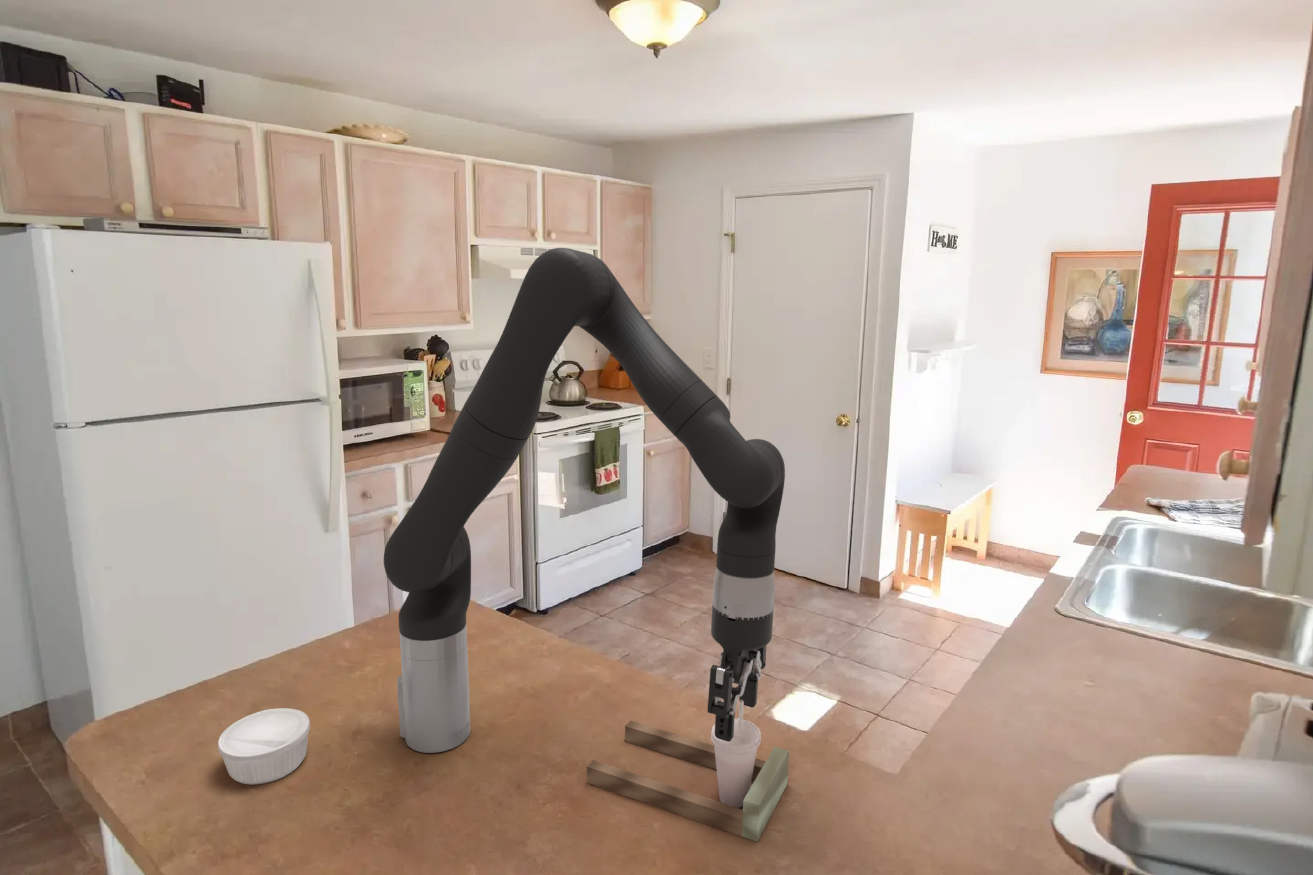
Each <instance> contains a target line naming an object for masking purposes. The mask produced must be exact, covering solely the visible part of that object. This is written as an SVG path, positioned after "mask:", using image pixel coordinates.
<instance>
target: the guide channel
mask: <svg viewBox="0 0 1313 875" xmlns="http://www.w3.org/2000/svg"><path fill="white" fill-rule="evenodd" d="M624 741H625V742H627V743H629V744H630V743H631V744H634V745H637V746H641V747H643V748H645V749H646V748H647V749H650V750H653V751H656V752H659V753H663V754H664V755H669V756H672V757H676V758H678V759H682V760H685V761H687V762H688V761H689V762H691V763H694V764H698V765H701V766H702V767H703V766H704V767H707V768H709V769H713V768H714V769H713V770H716V769H717V768H716V759H715V750H714V744H709V743H708V742H703V741H699V740H697V739H692V738H690V737H686V736H682V735H680V734H676V733H674V732H669V731H667V730H663V729H660V728H656V727H653V726H650V725H646V724H643V723H639V722H638V721H637V722H636V721H633V720H629V721H628V723H626V724H625V725H624ZM789 758H790V750H789V749H785V748H782V747H778V746H774V747H773V748H772V750H771V751H770V754H769V755H768V757H767V759H766V760H763V759H760V758H757V757H756V758H755V763H754V769H753V775H752V780H751V782H753V783H751V786H750V790H749V791H748V793H747V795H746V797H745V798H744V800H743V806H742V809H741V808H740V807H739V808H736V807H733V806H730V805H727V804H724V803H722V802H721V801H717V800H714V799H712V798H708V797H705V796H702V795H700V794H696V793H693V792H691V791H687V790H686V789H685V790H684V789H681V788H678V787H676V786H673V785H669V784H667V783H663V782H661V781H657V780H654V779H652V778H649V777H645V776H642V775H640V774H636V773H634V772H631V771H627V770H625V769H621V768H619V767H615V766H612V765H609V764H607V763H603V762H601V761H599V760H595V759H593V760H591V762H590V763H588V764H587V765H586V783H588V784H591V785H594V786H596V787H598V788H602V789H605V790H607V791H610V792H612V793H616V794H618V795H622V796H625V797H628V798H631V799H633V800H637V801H639V802H642V803H644V804H648V805H650V806H654V807H656V808H659V809H662V810H665V811H668V812H671V813H673V814H676V815H679V816H682V817H683V818H684V817H685V818H687V819H690V820H693V821H697V822H699V823H702V824H704V825H708V826H709V827H713V828H715V829H719V830H722V831H725V832H727V833H730V834H733V835H736V836H738V837H742V838H745V839H747V840H750V841H754V842H755V843H758V842H759V840H760V838H761V836H762V835H763V832H764V830H765V828H766V826H767V825H768V822H769V820H770V819H771V817H772V815H773V813H774V811H775V809H776V806H777V804H778V803H779V801H780V799H781V797H782V795H783V793H784V791H785V789H786V787H787V785H788V778H789V777H788V776H789V762H790V761H789Z"/></svg>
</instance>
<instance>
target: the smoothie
mask: <svg viewBox="0 0 1313 875" xmlns="http://www.w3.org/2000/svg"><path fill="white" fill-rule="evenodd" d="M738 700H739V699H738ZM738 702H739V703H738V718H737V717H735V719H734V736H733V738H732V740H731V741H730V742H728V741H725V740H721V739H718V738H716V736H715V723H714V724H713V725H712V727H711V734H710V739H711V741H712V743H713V745H714V750H715V759H716V768H717V770H716V777H717V784H718V785H717V786H718V795H719V797H718V798H719V800H720V801H719V802H721V803H724V804H727V805H730V806H733V807H736V808H739V809H740V808H743V800H744V798H745V797H746V795H747V793H748V791H749V790H750V788H751V786H752V781H751V780H752V775H753V769H754V763H755V758H757V752H758V747H759V746H760V745H761V742H762V738H761V736H762V734H761V730H760V729H759V727H758V726H757V725H756V724H755V723H753V722H752V721H749V720H747V719H744V706H745V705H744V701H743V700H739V701H738Z"/></svg>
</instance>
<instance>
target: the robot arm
mask: <svg viewBox="0 0 1313 875" xmlns="http://www.w3.org/2000/svg"><path fill="white" fill-rule="evenodd" d="M574 327H580V328H581V329H582V330H583V331H585V332H586V333H587V334H589V335H590V336H592V338H594V339H595V340H597V341H598V342H599V343H600V344H601V345H603V347H604V348H606V350H608V351H609V352H610V354H611V355H612V357H614V358H615V360H617V362H618V364H620V366H621V367H622V369H623V370H624V371H625V373H626V376H627V377H628V378H629V380H630V381H631V382H630V383H631V384H632V385H633V387H634V389H635V390H636V392H637V393H638V395H639V396H640V398H641V399H642V401H643V403H644V404H645V405H646V406H647V408H648V409H649V410H650V411H651V412H652V413H653V414H654V415H655V417H656V418H657V419H658V420H659V421H660V422H661V423H662V424H663V425H664V427H666V428H667V430H668V431H669V432H671V434H672V435H673V436H674V437H675V438H676V439H677V440H678V441H679V442H680V443H681V444H683V446H684V447H685V449H686V450H687V452H688V453H689V455H690V457H691V458H692V460H693V462H694V464H695V465H696V466H697V468H698V470H699V471H700V473H701V474H702V476H703V477H704V478H705V480H706V481H707V483H708V484H709V485H710V487H711V488H712V489H713V490H714V492H716V493H717V495H718V496H720V498H722V500H723V499H724V501H726V502H727V506H726V512H725V516H724V519H723V521H722V522H721V524H720V526H719V530H718V535H717V541H716V542H717V543H716V546H717V547H716V565H715V571H714V572H715V574H714V577H713V585H712V599H711V600H712V602H711V604H712V606H711V622H710V623H711V627H710V634H711V637H712V639H714V640H713V641H715V642H716V643H718V644H719V645H720V647H721V648H722V649H723V651H722V652H721V653H720V656H719V659H718V665H716V664H712V665H711V667H710V669H709V670H710V671H709V672H710V673H709V686H708V699H707V713H708V714H713V715H714V716H715V717H714V718H715V721H714V722H715V723H714V724H715V736H716V738H718V739H721V740H725V741H728V742H730V741H731V740H732V738H733V736H734V719H735V718H736V715H735V714H736V709H737V708H736V707H737V704H738V700H743V701H744V706H746V707H748V708H755V706H756V705H757V702H758V687H759V680H760V678H761V677H762V671H761V670H765V668H766V666H767V663H766V662H767V660H766V659H767V645H768V644H770V643H771V640H772V636H773V625H774V623H773V621H774V609H775V608H774V607H775V592H776V591H775V590H776V586H775V585H776V584H775V562H776V561H775V559H776V544H777V543H776V536H777V532H776V531H777V525H778V521H779V515H780V510H781V506H782V501H783V494H784V487H785V482H786V481H785V479H786V477H785V476H786V468H785V460H784V458H783V456H782V453H781V451H780V450H779V449H778V448H777V447H776V446H775V445H774V444H773V443H771V442H770V441H768V440H766V439H761V438H752V439H748V440H746V439H745V438H744V437H743V436H742V434H741V433H740V432H739V430H737V428H736V427H735V426H734V425H733V423H732V422H731V412H730V410H729V408H728V407H727V405H726V404H725V403H724V401H723V400H722V399H721V398H720V397H719V396H717V394H716V393H715V392H714V391H713V390H712V389H711V388H710V386H708V385H707V384H706V383H705V381H703V380H702V379H701V378H700V377H699V375H697V373H696V372H694V371H693V370H692V369H691V367H690V366H689V365H688V364H686V362H685V361H684V360H682V359H681V357H680V356H679V355H678V354H677V353H676V352H675V351H674V350H673V349H672V348H671V347H670V346H669V345H668V344H667V343H666V341H665V340H664V339H663V338H662V337H661V336H660V335H659V334H658V332H656V331H655V329H654V328H653V327H652V326H651V324H650V323H649V322H648V321H647V319H646V318H645V317H644V316H643V314H642V313H641V312H640V311H639V309H638V308H637V306H636V305H635V303H634V302H633V301H632V300H631V298H630V297H629V295H628V294H627V292H626V291H625V289H624V287H622V285H621V284H620V282H619V281H618V279H617V278H616V277H615V275H614V274H613V271H612V270H610V268H609V266H608V265H607V264H606V263H605V262H604V261H603V259H601V258H600V257H597V256H596V255H594V254H592V253H589V252H585V251H580V250H577V249H572V248H569V247H568V248H567V247H555V248H551V249H548V250H546V251H545V252H543V253H541V254H540V255H538V257H537V258H535V259H534V261H533V262H532V264H531V265H530V267H529V268H528V270H527V272H526V274H525V276H524V277H523V281H522V283H521V285H520V288H519V290H518V293H517V296H516V298H515V300H514V303H513V306H512V308H511V311H510V314H509V316H508V319H507V321H506V324H505V326H504V329H503V331H502V333H501V335H500V338H499V340H498V342H497V343H496V346H495V348H494V349H493V351H492V352H491V354H490V356H489V358H488V360H487V362H486V364H485V366H484V368H482V372H481V374H480V376H479V377H478V380H477V381H476V383H475V385H474V387H473V389H472V390H471V392H470V394H469V395H468V397H467V398H466V400H465V403H464V404H463V406H462V408H461V410H460V412H459V414H458V416H457V418H456V420H455V421H454V424H453V425H452V428H451V430H450V432H449V434H448V436H447V439H446V441H445V443H444V444H443V446H442V448H441V450H440V452H439V454H438V456H437V458H436V459H435V462H434V463H433V466H432V468H431V470H430V472H429V475H428V476H427V479H426V481H425V483H424V484H423V487H422V489H421V490H420V492H419V493H418V495H417V497H416V499H415V500H414V501H413V503H412V505H411V506H410V508H409V509H408V510H407V512H406V514H405V516H404V517H403V518H402V520H401V521H400V522H399V523H398V525H397V527H395V530H394V531H393V532H392V534H391V535H390V537H389V538H388V541H387V542H386V545H385V547H384V552H383V567H384V570H385V574H386V577H387V579H388V580H389V582H390V583H391V584H392V586H394V587H395V588H396V589H398V590H400V591H403V592H406V593H408V594H407V597H406V598H405V601H404V602H403V604H402V605H401V607H400V609H399V613H398V633H399V646H400V647H399V649H400V662H401V663H400V664H401V674H399V675H398V677H396V688H397V689H396V690H397V705H398V721H399V737H400V738H403V739H404V740H405V743H406V745H407V746H408V748H410V749H412V750H413V751H416V752H419V753H426V754H428V753H430V754H433V753H435V754H436V753H442V752H446V751H448V750H452V749H454V748H456V747H459V746H460V745H462V744H463V743H464V742H465V741H467V739H468V738H469V736H470V733H471V713H470V710H471V707H470V685H469V684H470V683H469V682H470V680H469V679H470V678H469V658H468V653H469V651H468V634H467V633H468V632H467V631H468V630H467V611H468V609H469V606H470V602H471V597H472V596H471V595H472V594H471V593H472V551H471V542H470V538H469V535H468V532H467V529H466V528H465V525H466V523H467V522H468V520H469V519H470V517H471V516H472V515H473V513H474V512H475V511H476V509H477V508H478V507H479V506H480V505H481V504H482V503H483V502H484V500H486V498H488V496H489V495H490V494H491V492H492V491H493V490H494V488H496V487H497V485H498V484H499V483H500V482H501V481H502V479H503V478H504V477H505V476H506V475H507V473H508V472H509V471H510V470H511V467H513V465H514V464H515V462H516V460H517V459H518V457H519V456H520V453H521V452H522V450H523V449H524V446H525V444H526V443H527V441H528V440H529V438H530V436H531V434H532V432H533V429H534V428H535V426H536V423H537V420H538V418H539V413H540V408H541V402H542V395H543V389H544V383H545V379H546V376H547V372H548V370H549V367H550V365H551V363H552V361H553V360H554V358H555V357H556V355H557V353H558V351H559V349H560V348H561V346H562V345H563V343H564V341H565V340H566V338H567V337H568V335H569V334H570V332H571V331H572V330H573V329H574ZM733 684H736V685H737V686H736V687H735V686H733ZM722 700H723V701H722Z"/></svg>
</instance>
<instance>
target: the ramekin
mask: <svg viewBox="0 0 1313 875" xmlns="http://www.w3.org/2000/svg"><path fill="white" fill-rule="evenodd" d="M310 727H311V722H310V718H309V716H308V715H307V714H306V713H305V712H304V711H302V710H299V709H294V708H285V707H284V708H282V707H281V708H280V707H279V708H270V709H269V708H268V709H265V710H261V711H257V712H254V713H252V714H249V715H246V716H244V717H243V718H242V717H241V719H239V720H237V721H235V722H233V723H232V724H231V725H229V726H228V727H227V728H226V729H224V731H222V732H221V734H220V735H219V738H218V739H217V740H218V741H217V750H218V753H219V755H220V756H221V757H222V759H223V763H224V765H225V767H226V771H227V773H228V775H229V777H231V779H233V780H234V781H236V782H238V783H241V784H244V785H262V784H266V783H271V782H274V781H277V780H279V779H282V778H285V777H286V776H287V775H290V774H291V773H293V772H294V771H295V770H296V769H297V768H298V767H299V766H300V765H301V764H302V762H303V760H304V759H305V757H306V754H307V751H308V739H309V733H310V732H309V731H310V729H311V728H310Z"/></svg>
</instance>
